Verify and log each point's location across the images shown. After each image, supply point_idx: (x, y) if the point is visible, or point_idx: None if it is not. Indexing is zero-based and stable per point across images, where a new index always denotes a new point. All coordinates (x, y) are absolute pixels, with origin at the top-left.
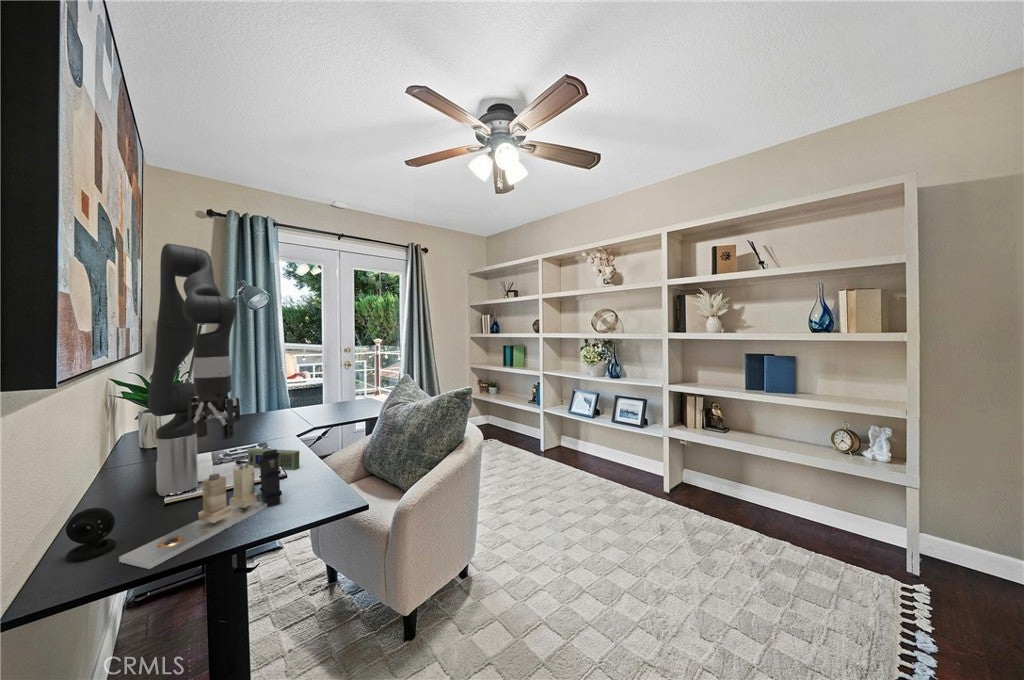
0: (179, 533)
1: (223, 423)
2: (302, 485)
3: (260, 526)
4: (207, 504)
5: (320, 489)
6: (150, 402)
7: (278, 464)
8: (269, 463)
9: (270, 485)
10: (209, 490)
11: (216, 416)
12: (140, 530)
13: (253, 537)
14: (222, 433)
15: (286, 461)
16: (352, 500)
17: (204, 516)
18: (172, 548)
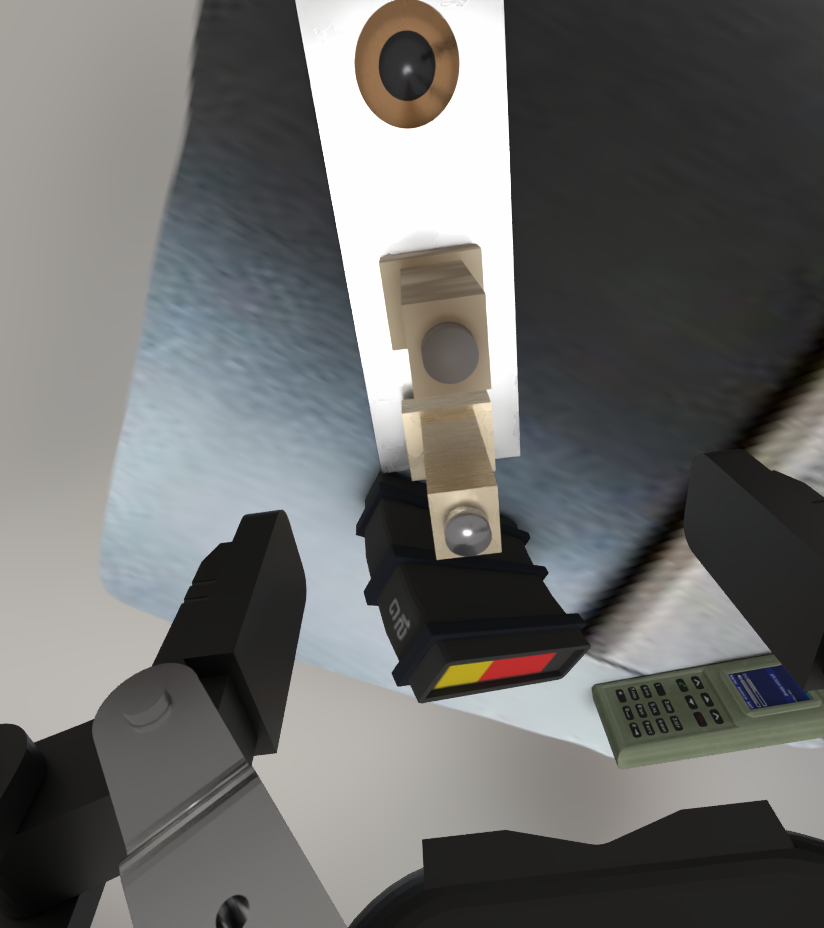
0: (458, 139)
1: (146, 685)
2: None
3: (241, 356)
4: (432, 271)
5: (339, 621)
6: None
7: (676, 688)
8: (405, 611)
9: (379, 528)
10: (419, 290)
11: (237, 804)
12: (725, 104)
13: (169, 287)
14: (259, 555)
15: (644, 708)
16: (144, 606)
17: (440, 252)
18: (330, 28)
